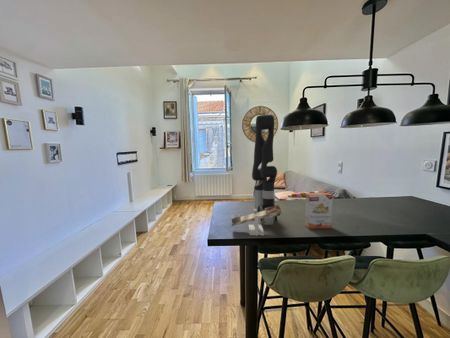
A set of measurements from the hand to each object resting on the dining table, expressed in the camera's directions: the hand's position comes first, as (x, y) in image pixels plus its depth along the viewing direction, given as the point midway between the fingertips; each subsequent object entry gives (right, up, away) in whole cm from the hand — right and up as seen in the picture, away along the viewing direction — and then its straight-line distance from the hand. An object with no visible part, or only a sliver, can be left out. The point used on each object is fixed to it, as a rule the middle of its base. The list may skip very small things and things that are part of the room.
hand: (268, 221), depth 140 cm
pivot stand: (-10, -3, -12) cm, 16 cm away
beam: (-10, +6, -13) cm, 18 cm away
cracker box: (+29, -2, -9) cm, 30 cm away
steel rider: (0, -1, 0) cm, 1 cm away
